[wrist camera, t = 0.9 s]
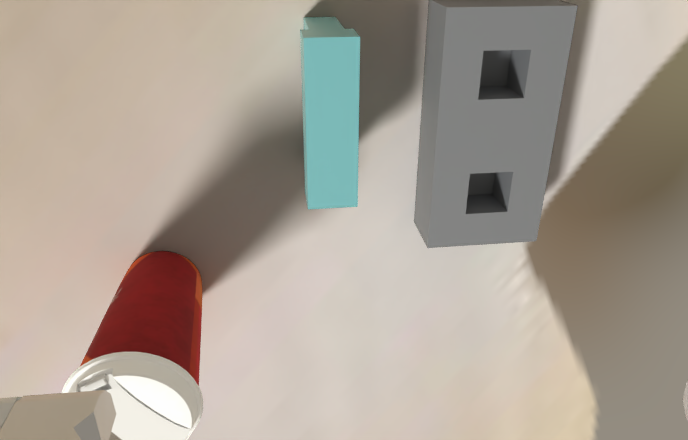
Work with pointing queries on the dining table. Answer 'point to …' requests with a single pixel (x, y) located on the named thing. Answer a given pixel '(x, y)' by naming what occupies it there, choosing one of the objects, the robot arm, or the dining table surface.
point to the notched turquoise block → (330, 112)
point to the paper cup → (149, 350)
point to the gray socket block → (489, 117)
